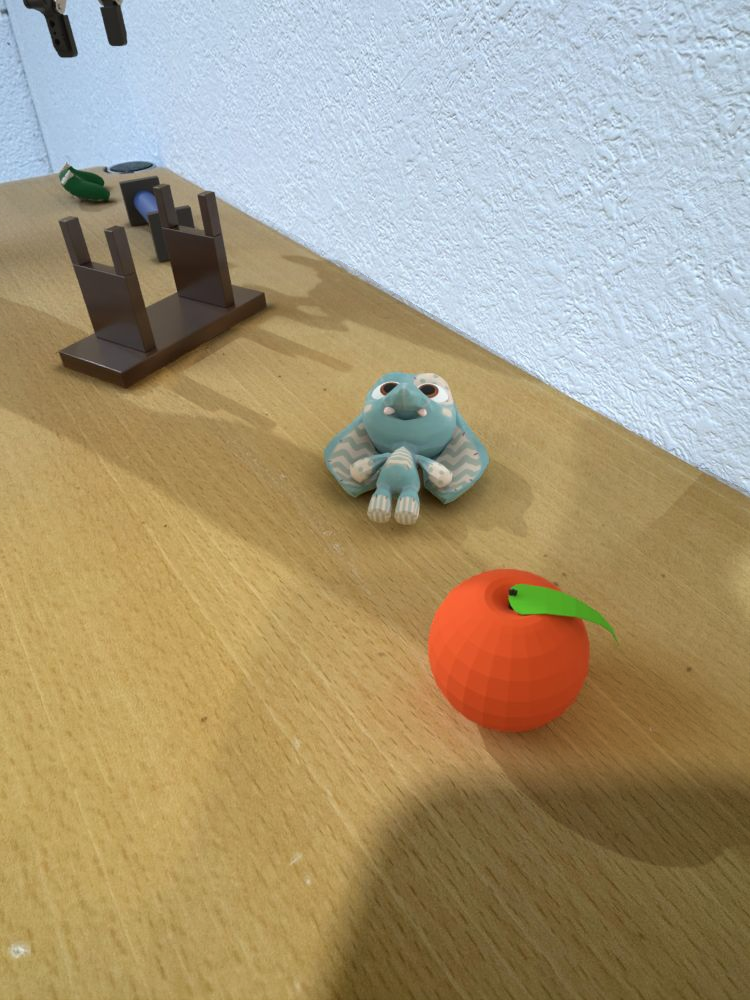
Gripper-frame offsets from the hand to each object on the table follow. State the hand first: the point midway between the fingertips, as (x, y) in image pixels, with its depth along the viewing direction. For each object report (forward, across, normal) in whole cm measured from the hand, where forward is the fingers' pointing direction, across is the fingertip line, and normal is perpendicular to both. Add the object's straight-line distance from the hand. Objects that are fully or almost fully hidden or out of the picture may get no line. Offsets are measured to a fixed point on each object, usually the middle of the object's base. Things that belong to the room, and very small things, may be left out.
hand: (94, 51), depth 77 cm
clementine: (+20, +54, +61) cm, 84 cm away
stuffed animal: (+19, +39, +50) cm, 67 cm away
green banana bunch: (+19, -9, -16) cm, 27 cm away
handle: (+19, +3, +6) cm, 20 cm away
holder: (+19, +26, +23) cm, 39 cm away
